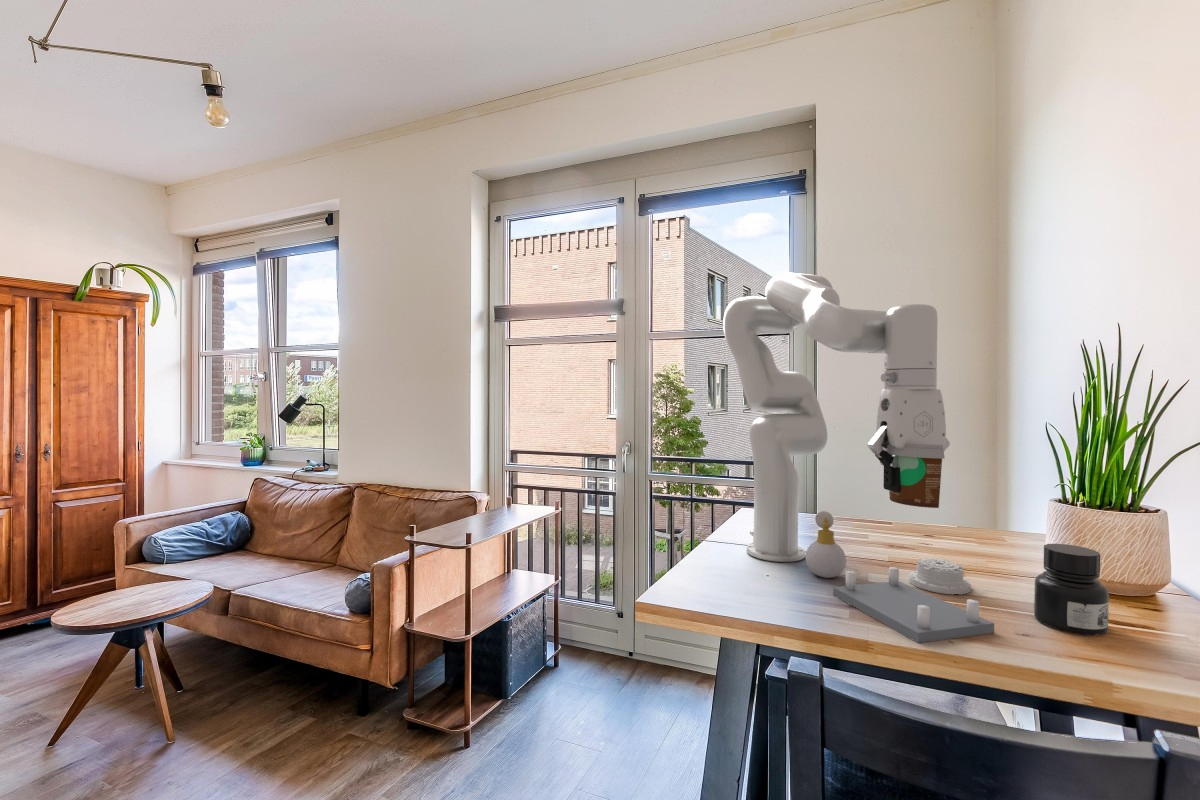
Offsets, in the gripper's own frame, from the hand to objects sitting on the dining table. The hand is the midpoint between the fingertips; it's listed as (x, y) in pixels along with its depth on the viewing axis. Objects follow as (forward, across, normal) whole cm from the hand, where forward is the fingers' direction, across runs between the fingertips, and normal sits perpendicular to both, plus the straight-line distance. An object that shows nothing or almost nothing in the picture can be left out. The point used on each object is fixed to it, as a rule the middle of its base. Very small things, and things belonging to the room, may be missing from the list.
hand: (908, 488), depth 91 cm
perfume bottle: (+21, -2, +20) cm, 29 cm away
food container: (+2, -1, 0) cm, 2 cm away
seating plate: (+21, 0, 0) cm, 21 cm away
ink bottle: (+21, +22, -10) cm, 32 cm away
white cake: (+21, +16, +9) cm, 28 cm away
